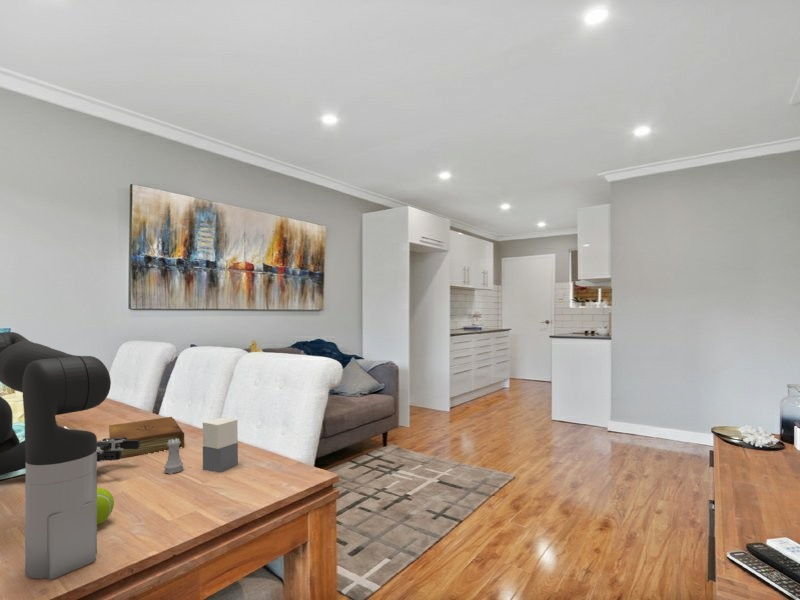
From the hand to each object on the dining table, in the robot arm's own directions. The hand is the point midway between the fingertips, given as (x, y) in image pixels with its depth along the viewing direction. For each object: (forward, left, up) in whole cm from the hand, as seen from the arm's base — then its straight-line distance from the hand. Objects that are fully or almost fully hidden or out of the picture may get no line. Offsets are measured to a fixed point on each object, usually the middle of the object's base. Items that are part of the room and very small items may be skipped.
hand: (130, 449), depth 110 cm
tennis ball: (-23, +17, -6) cm, 30 cm away
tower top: (-16, -15, 0) cm, 22 cm away
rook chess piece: (-8, -7, -6) cm, 12 cm away
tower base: (-16, -15, -6) cm, 23 cm away
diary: (+23, -15, -7) cm, 28 cm away
